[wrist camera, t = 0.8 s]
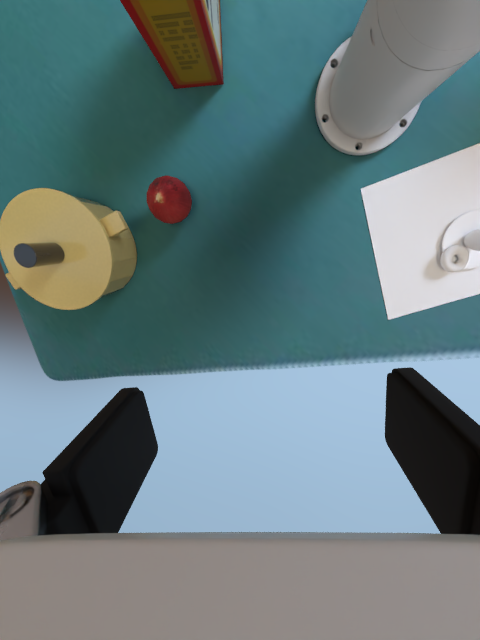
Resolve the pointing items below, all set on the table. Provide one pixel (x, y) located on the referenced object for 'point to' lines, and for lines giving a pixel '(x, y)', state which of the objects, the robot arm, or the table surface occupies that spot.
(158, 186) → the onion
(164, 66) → the baking soda box
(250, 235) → the table surface
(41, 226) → the lid
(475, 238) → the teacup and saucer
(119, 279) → the pot
